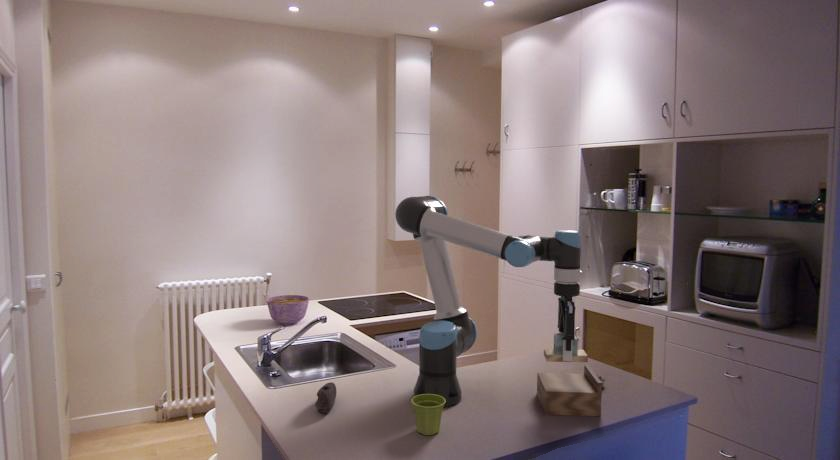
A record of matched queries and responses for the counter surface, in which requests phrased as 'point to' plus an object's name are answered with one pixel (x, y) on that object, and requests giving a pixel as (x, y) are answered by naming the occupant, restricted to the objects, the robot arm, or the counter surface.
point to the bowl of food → (287, 308)
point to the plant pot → (428, 412)
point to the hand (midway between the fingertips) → (565, 356)
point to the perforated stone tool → (326, 397)
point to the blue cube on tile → (557, 352)
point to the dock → (570, 393)
